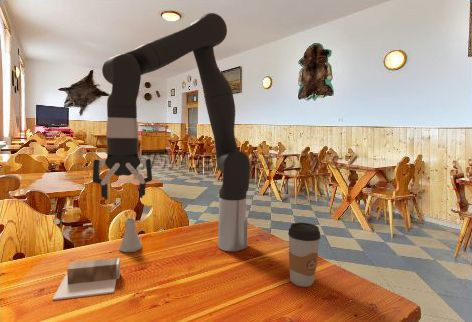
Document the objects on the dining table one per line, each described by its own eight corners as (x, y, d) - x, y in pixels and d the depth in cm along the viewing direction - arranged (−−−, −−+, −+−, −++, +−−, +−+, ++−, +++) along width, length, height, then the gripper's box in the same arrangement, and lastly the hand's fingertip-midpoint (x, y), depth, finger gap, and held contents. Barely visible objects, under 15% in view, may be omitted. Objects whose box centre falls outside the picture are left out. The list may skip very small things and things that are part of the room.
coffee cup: (299, 292, 74) (302, 234, 72) (279, 277, 81) (282, 224, 80) (324, 285, 78) (327, 229, 76) (303, 271, 85) (306, 220, 84)
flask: (145, 245, 101) (145, 216, 100) (136, 253, 94) (136, 223, 93) (125, 243, 102) (124, 215, 101) (114, 252, 95) (114, 222, 94)
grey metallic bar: (120, 257, 81) (71, 262, 78) (118, 264, 77) (67, 269, 74) (120, 271, 81) (71, 276, 78) (119, 278, 78) (67, 284, 74)
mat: (119, 263, 87) (119, 262, 87) (113, 292, 72) (113, 291, 72) (70, 268, 83) (70, 267, 83) (52, 300, 68) (52, 298, 68)
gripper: (151, 136, 82) (151, 194, 83) (94, 135, 77) (96, 196, 79) (151, 136, 74) (152, 200, 76) (89, 136, 70) (91, 203, 72)
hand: (123, 198), depth 78 cm, fingers open, 8 cm apart
